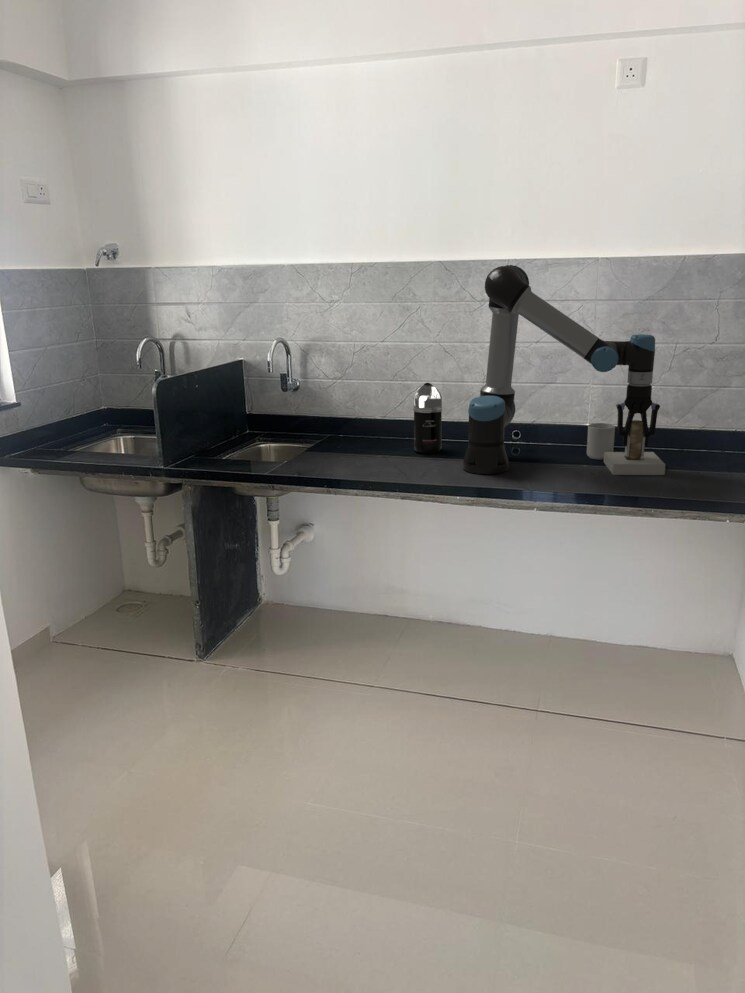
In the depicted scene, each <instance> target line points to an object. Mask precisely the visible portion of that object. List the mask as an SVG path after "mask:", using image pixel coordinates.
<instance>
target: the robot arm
mask: <svg viewBox="0 0 745 993" xmlns="http://www.w3.org/2000/svg"><path fill="white" fill-rule="evenodd" d="M484 291H485V294H486V295H487V297H488V298H489V299H488V308H489V310H490V311H491V313H492V316H491V326H490V336H489V346H488V348H489V349H488V355H487V367H486V369H487V370H486V378H485V384H484V385H482V387H481V388H480V392H479V393H480V394H479V396H477V397H474V398H472V399H471V400H470V402H469V404H468V410H467V411H468V444H467V445H468V446H467V449H466V451H465V455H464V458H463V462H462V469H463V471H465V472H468V473H472V474H479V475H495V474H496V475H497V474H502V473H504V472H508V471H509V468H510V462H509V458H508V455H507V452H506V448H505V427H507V426H508V425H509V424H510V423H511V422H512V421H513V419H514V417H515V414H516V404H515V396H516V395H515V394H516V391H515V389H514V388H513V387H512V380H513V373H514V372H513V371H514V364H515V363H514V360H515V354H516V353H515V352H516V343H517V333H518V326H519V325H518V324H519V317H520V316H521V317H522V318H524V319H525V320H527V321H528V322H530V323H531V324H533V325H535V327H537V328H538V329H540V330H541V331H543V332H545V333H546V334H548V335H549V336H550V337H552V338H553V339H555V340H556V341H557V342H559V343H560V344H562V345H563V346H564V347H567V349H569V350H571V351H572V352H574V353H575V354H576V355H578V356H580V357H581V358H582V359H584V360H585V361H586V362H588V363H589V364H590V365H591V366H592V367H593V369H595V371H597V372H600V373H607V372H610V371H612V370H613V369H615V367H617V366H628V369H627V370H628V371H627V382H626V383H627V386H626V397H625V399H624V401H623V402H621V403H616V404H615V406H616V409H617V424H616V425H617V428H616V432H617V434H618V435H620V436H622V442H621V443H622V446H623V447H625V448H624V452H625V456H626V457H629V449H630V436H629V432H630V427H631V424H632V420H634V417H635V414H640V420H641V421H643V433H642V445H641V457H644V452H645V447H648V445H649V437H650V436H652V435H653V436H654V435H655V433H656V426H657V418H658V412H659V410H660V408H661V405H660V404H659V403H655V402H653V401H652V392H653V390H652V388H653V386H652V384H653V377H654V376H653V375H654V364H655V354H656V338H655V336H654V335H652V334H641V333H640V334H632V335H631V336H630V339H629V340H627V341H626V340H625V341H620V340H619V341H618V340H615V341H613V340H603V339H601V338H599V337H598V336H597V335H595V334H593V332H591V331H590V330H588V329H586V327H584V326H583V325H580V324H579V323H578V322H576V321H575V320H573V319H572V318H570V317H569V316H568V315H566V314H565V313H563V312H561V311H560V310H559V309H558V308H556V307H554V306H553V305H552V304H550V303H549V302H547V301H546V300H545V299H543V298H542V297H540V296H539V295H537V294H535V293H534V292H533V291H532V287H531V286H530V279H529V276H528V274H527V273H526V272H525V270H524V269H522V268H521V267H519V266H517V265H513V264H510V265H509V264H506V265H501V266H497V267H495V268H494V269H492V270H491V271H490V272H489V273H488V274H487V276H486V278H485V281H484ZM519 315H520V316H519ZM625 407H626V409H627V410H628V412H627V417H626V421H625V425H624V410H625ZM650 408H651V415H650V421H649V422H650V423H649V424H648V417H647V410H649V409H650ZM648 425H649V426H648ZM623 426H624V427H623Z"/></svg>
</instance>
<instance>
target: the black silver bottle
mask: <svg viewBox="0 0 745 993" xmlns="http://www.w3.org/2000/svg"><path fill="white" fill-rule="evenodd" d="M441 394H442V393H441V392H440V391H439V389H438V388H437V387H435V386H434V385H433V384H432V383H430V382H425V383H424V384H422V386H420V387H419V388H418V389H417V390H416V391H415V392H414V395H413V437H414V438H413V444H414V446H413V448H414V451H416V452H417V453H420V454H426V453H429V454H435V453H438V452H440V451H441V450H442V438H443V437H442V435H443V434H442V427H443V426H442V422H443V421H442V415H443V414H442V410H443V405H442V404H443V401H442V400H443V396H442V395H441Z"/></svg>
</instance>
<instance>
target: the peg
mask: <svg viewBox="0 0 745 993" xmlns="http://www.w3.org/2000/svg"><path fill="white" fill-rule="evenodd" d="M628 435H629V436H630V449H629V457H628V459H627V460H640V458H641V445H642V435H643V421H642V420H641V419H640V420H639V419H633V420H632V424H631V427H630V431H629V434H628Z"/></svg>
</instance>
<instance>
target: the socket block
mask: <svg viewBox="0 0 745 993" xmlns="http://www.w3.org/2000/svg"><path fill="white" fill-rule="evenodd" d="M627 459H628V457H626V456H625V451H613V452H604V460H603V463H604V465H605V466H606V468H607V469H608V470H609V472H610V473H611V474H612V475H613V476H665V474H666V463H665V462H664V461H663V460H662V459H661V458H660V457H659V456H658V455H657V454H656V453H655V452H654V451H644V457H641V458H640V460H627Z"/></svg>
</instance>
